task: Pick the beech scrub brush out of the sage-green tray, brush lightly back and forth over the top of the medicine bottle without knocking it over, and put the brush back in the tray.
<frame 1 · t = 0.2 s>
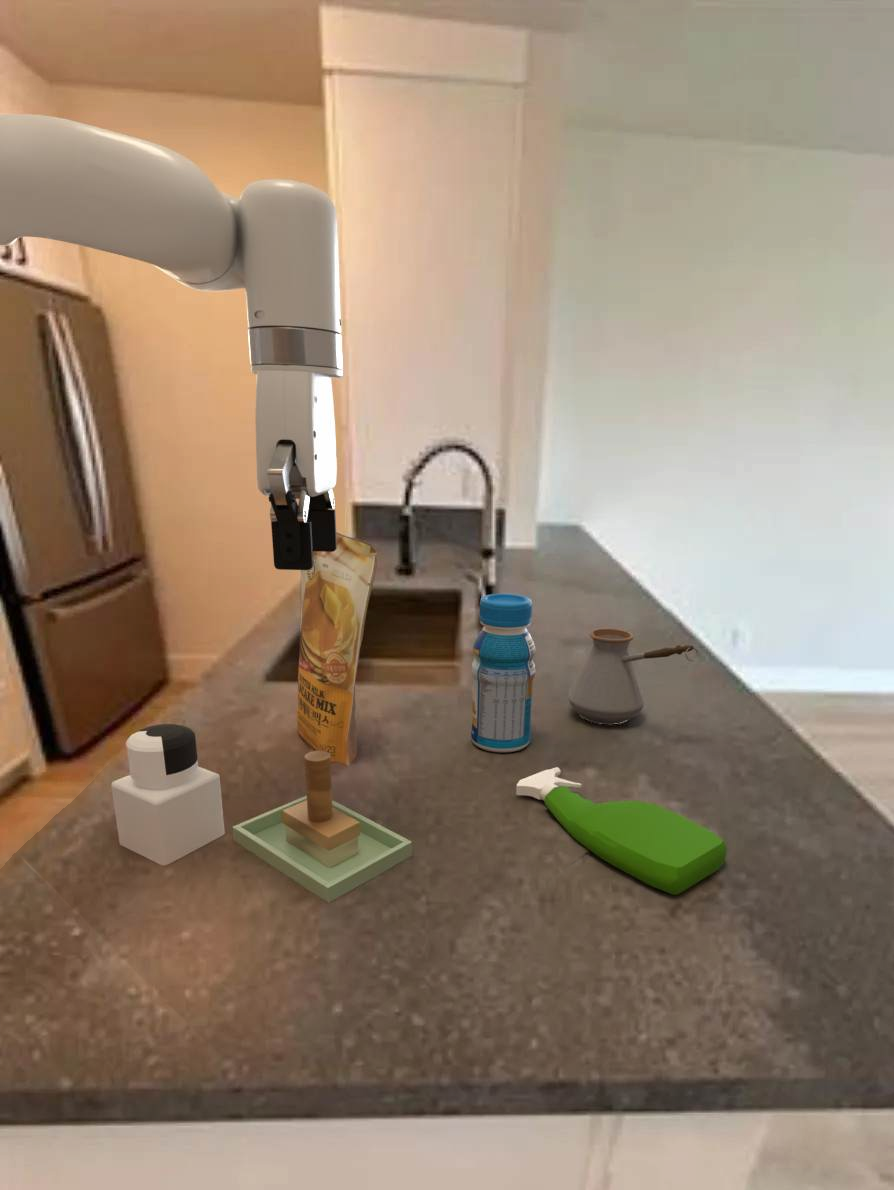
hand: (308, 559, 66), 29 cm above the counter, tool pointing down, fingers open, 9 cm apart
brush: (321, 847, 72), resting on tray
coffee pot: (627, 728, 106), on the counter
pancake mix bag: (332, 744, 97), on the counter
spray bottle: (606, 831, 78), on the counter
beverage bottle: (500, 743, 99), on the counter
medicine bottle: (173, 843, 73), on the counter
tray: (322, 850, 72), on the counter
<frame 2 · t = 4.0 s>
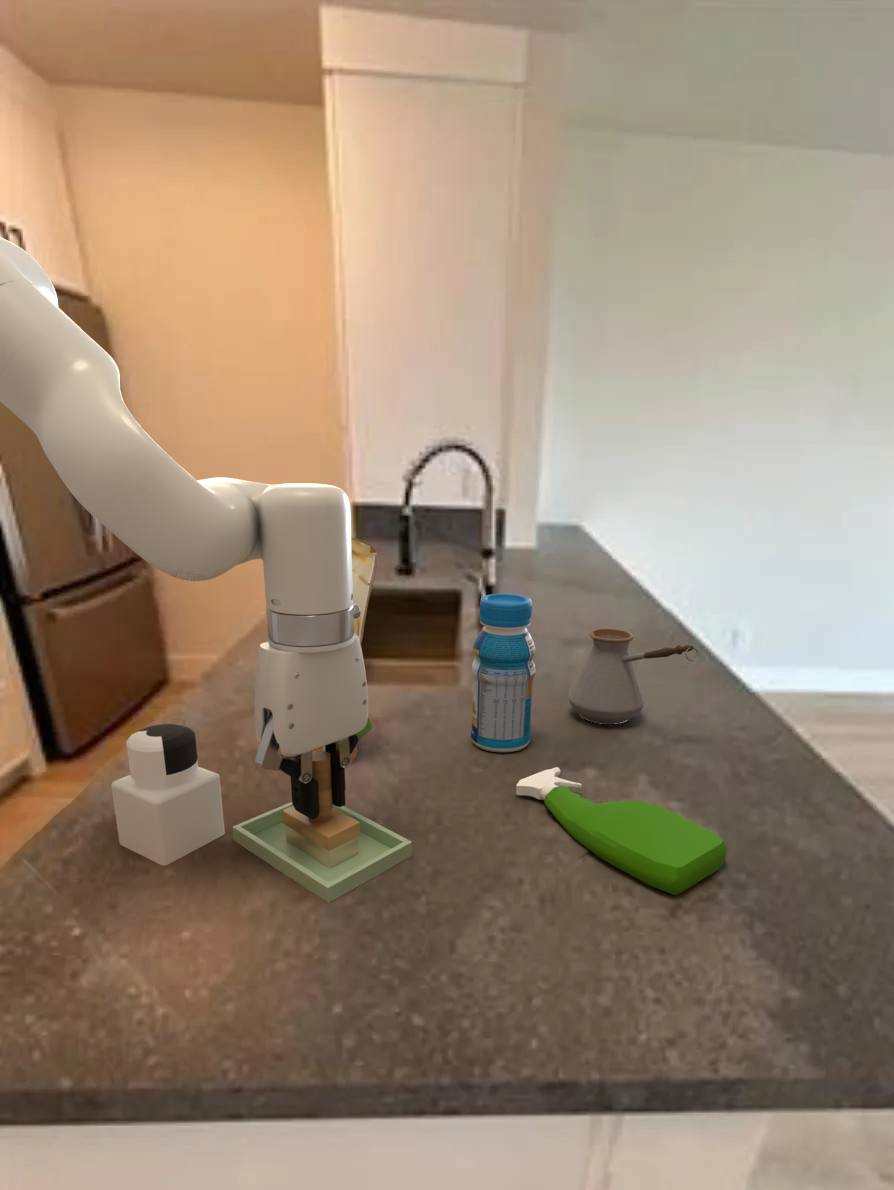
hand: (319, 806, 71), 5 cm above the counter, tool pointing down, fingers closed on brush, 2 cm apart
brush: (321, 847, 72), resting on tray, touching gripper
everything else where it was.
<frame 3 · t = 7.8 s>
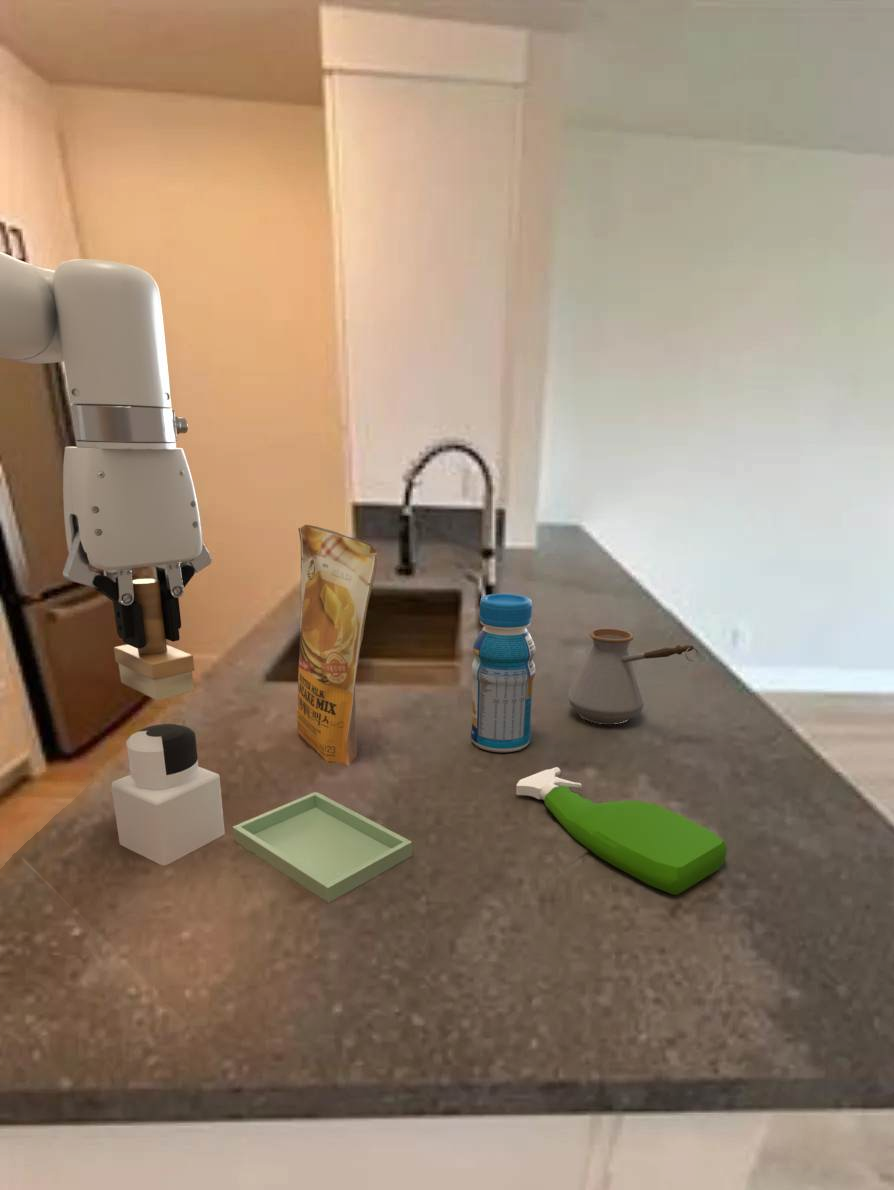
hand: (151, 640, 66), 21 cm above the counter, tool pointing down, fingers closed on brush, 2 cm apart
brush: (157, 686, 68), point 17 cm above the counter, touching gripper
everything else where it was.
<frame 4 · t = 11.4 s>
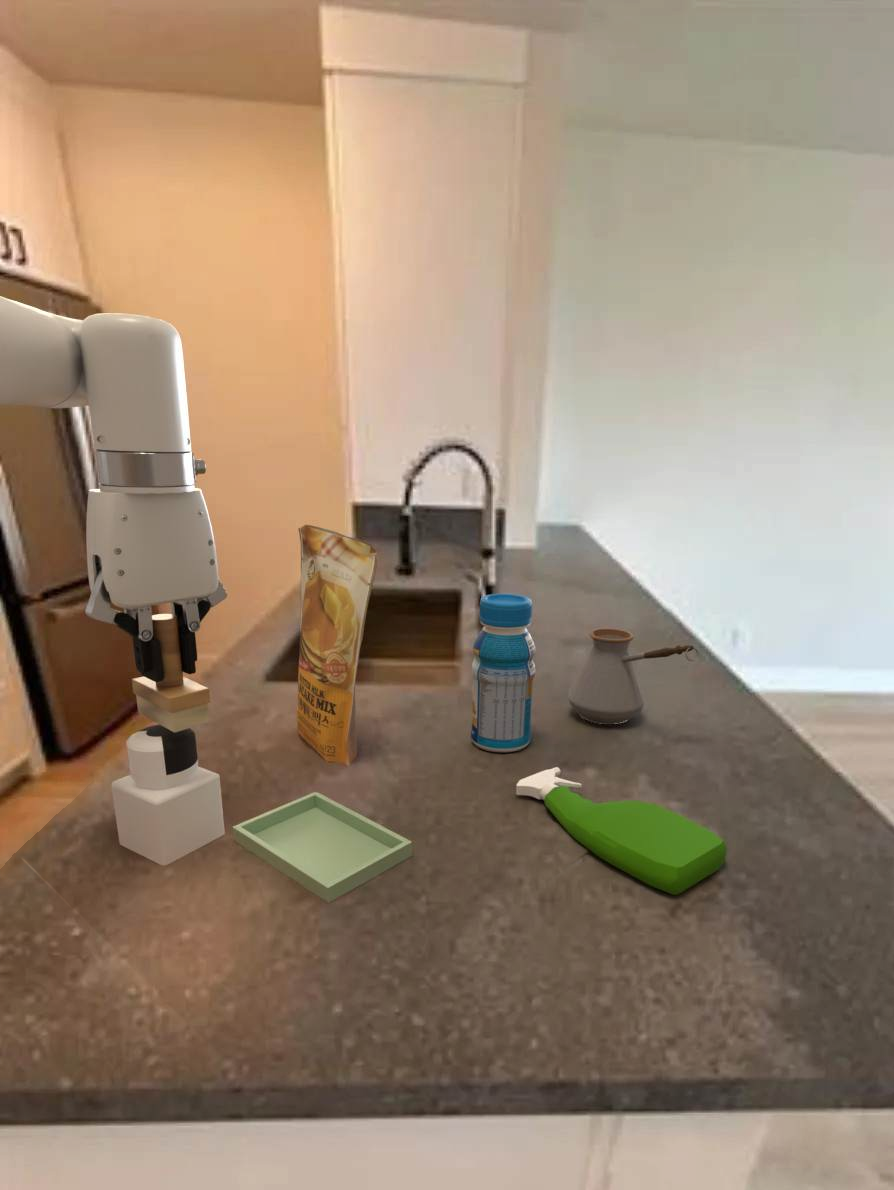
hand: (168, 672, 68), 18 cm above the counter, tool pointing down, fingers closed on brush, 2 cm apart
brush: (173, 717, 70), point 13 cm above the counter, touching gripper
everything else where it was.
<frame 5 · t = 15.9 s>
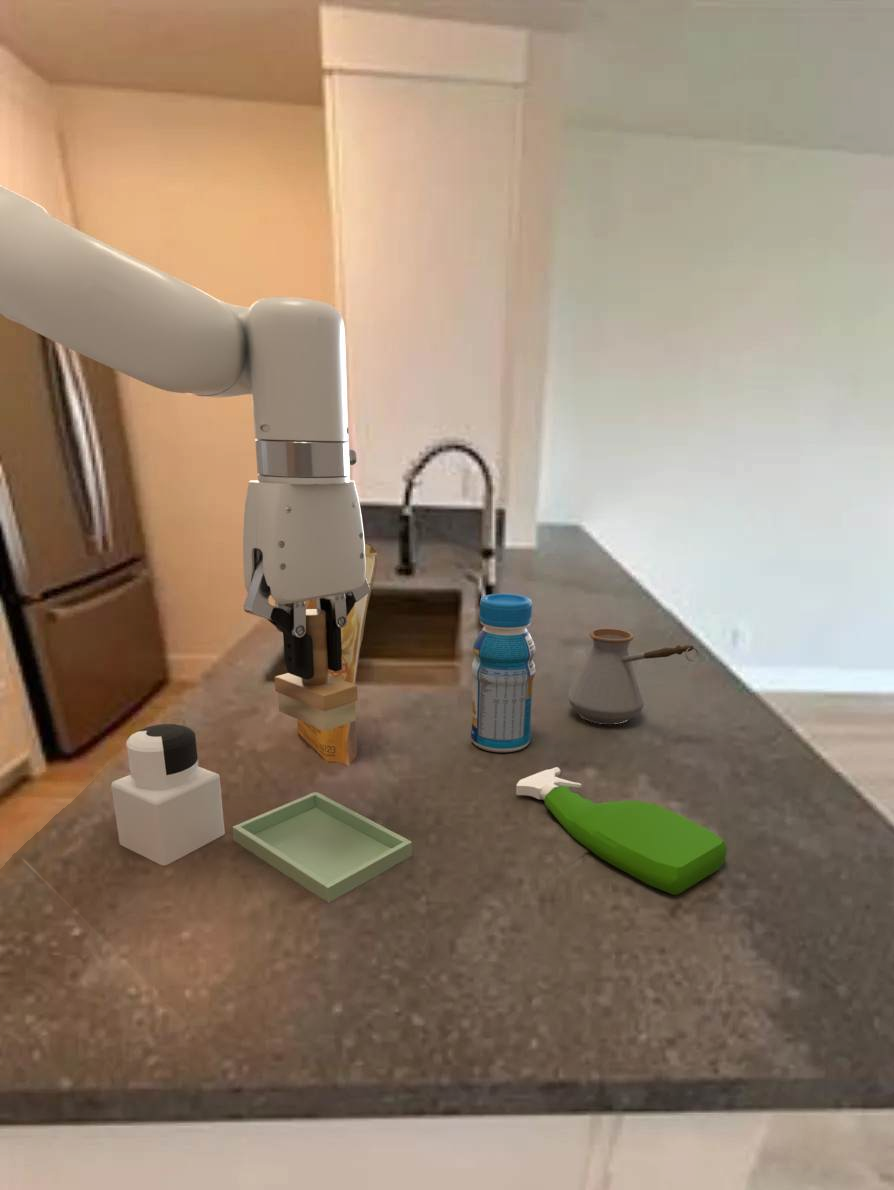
hand: (314, 670, 66), 19 cm above the counter, tool pointing down, fingers closed on brush, 2 cm apart
brush: (317, 715, 68), point 14 cm above the counter, touching gripper
everything else where it was.
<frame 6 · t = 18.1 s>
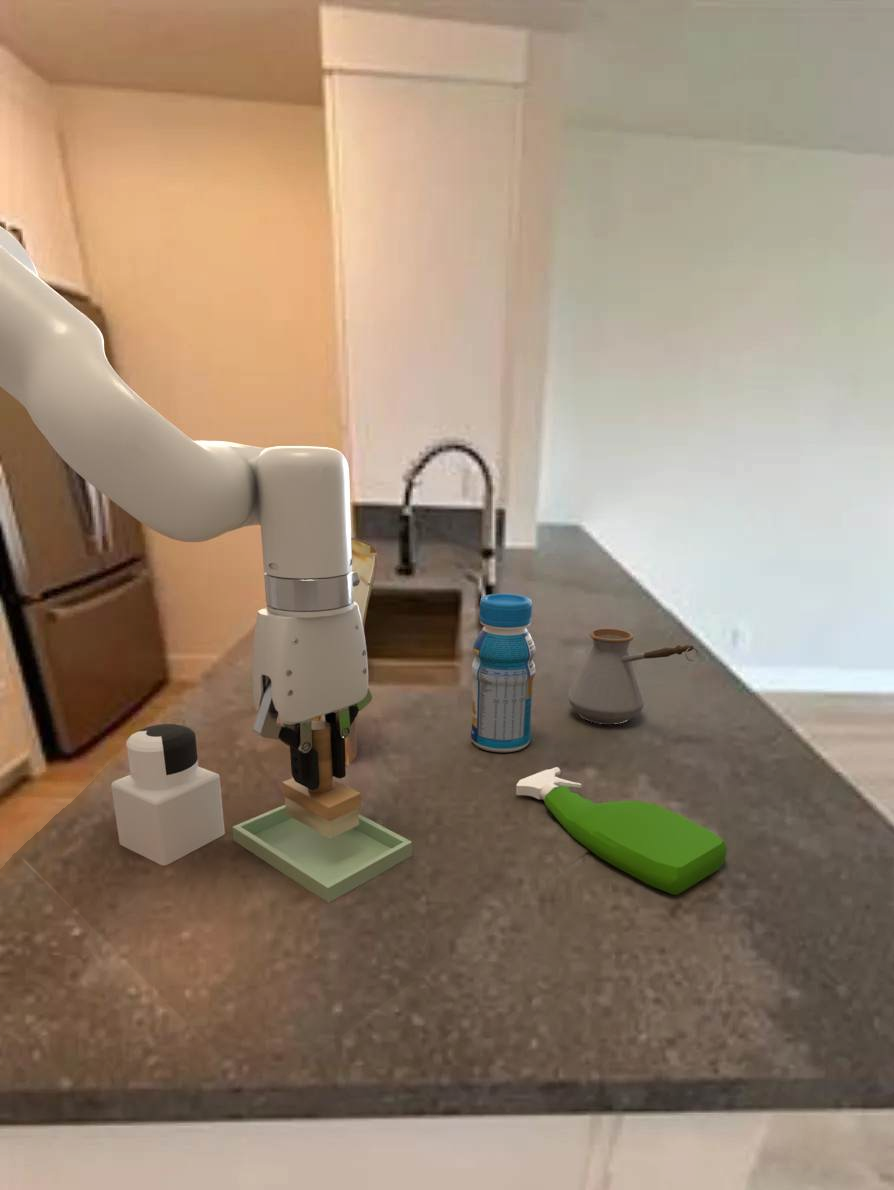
hand: (319, 777, 70), 8 cm above the counter, tool pointing down, fingers closed on brush, 2 cm apart
brush: (322, 819, 71), point 4 cm above the counter, touching gripper
everything else where it was.
when the fingers open (5 cm above the counter, at t = 19.2 s): brush stays where it is, resting on tray.
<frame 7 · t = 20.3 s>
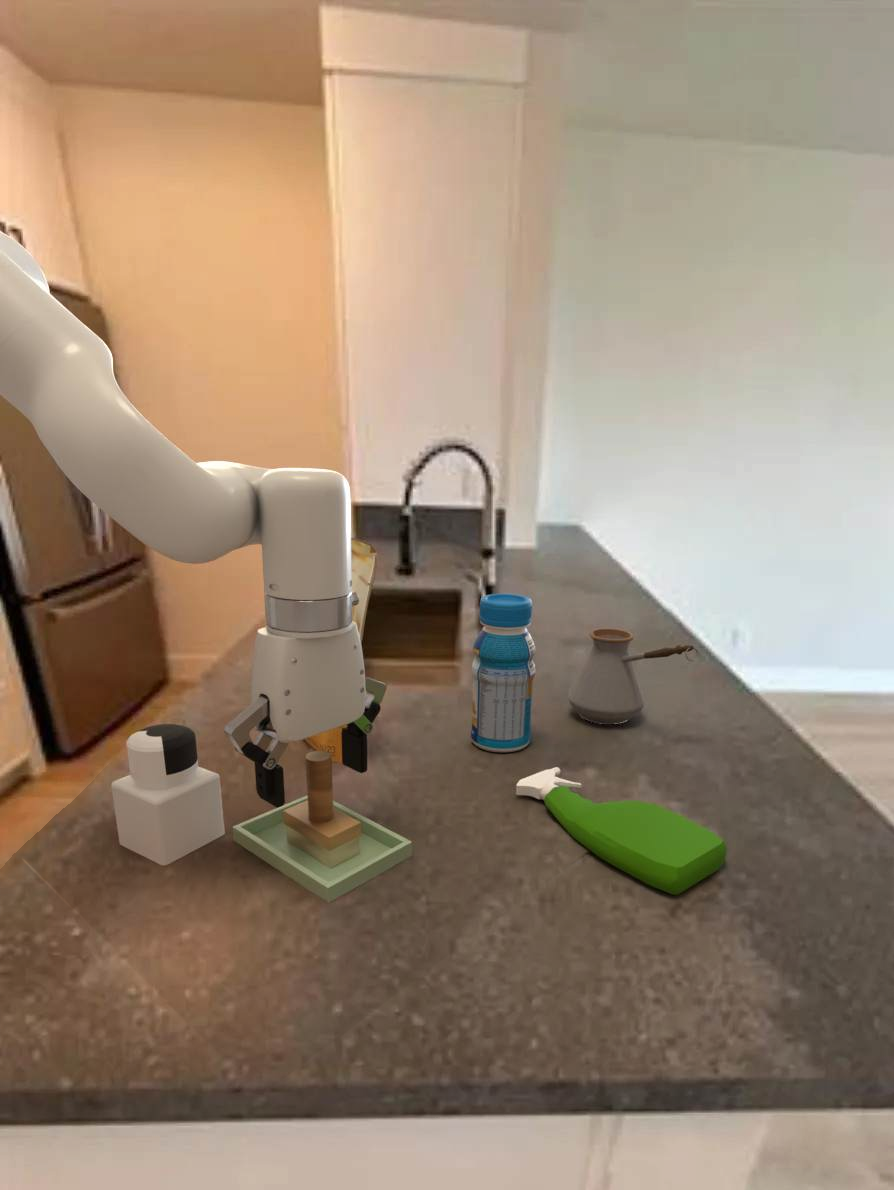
hand: (315, 784, 70), 7 cm above the counter, tool pointing down, fingers open, 9 cm apart
brush: (322, 847, 72), resting on tray
everything else where it was.
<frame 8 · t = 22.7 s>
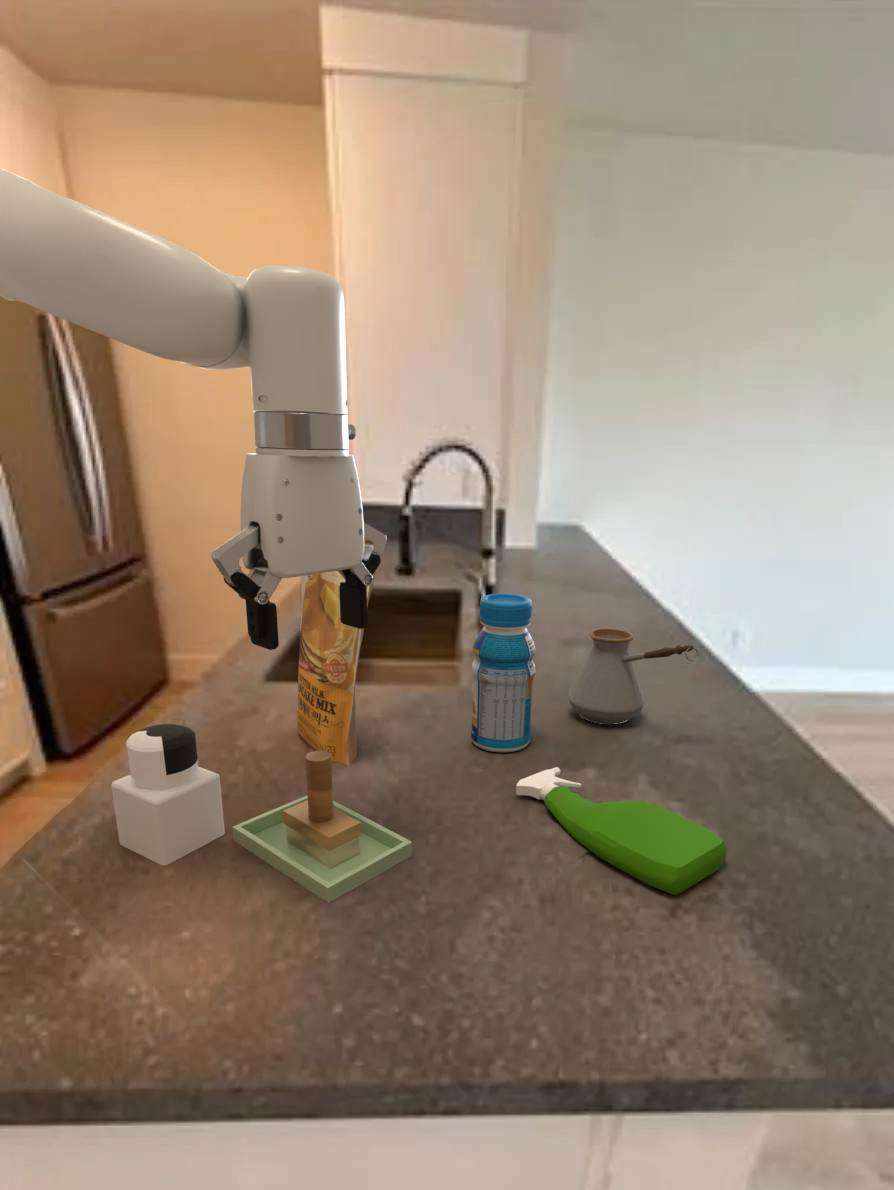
hand: (311, 635, 65), 22 cm above the counter, tool pointing down, fingers open, 9 cm apart
nothing on the counter moved.
at the end: brush inside the target area in the tray (0.1 cm from its centre), point 0.4 cm above the tray's base; medicine bottle tilted 0°; medicine bottle moved 0.2 cm from its start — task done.
